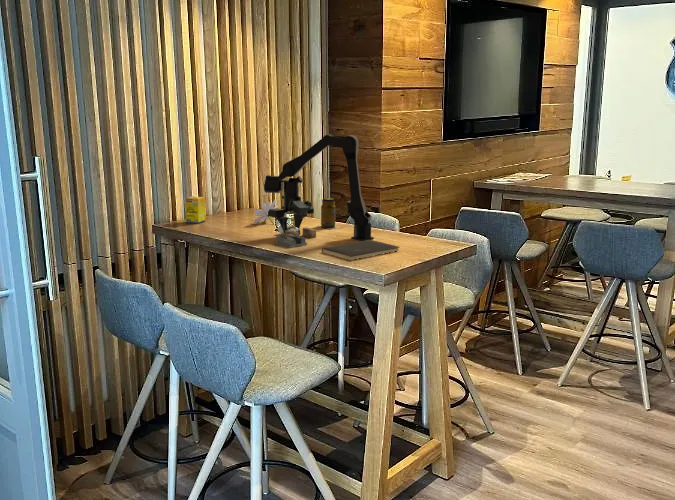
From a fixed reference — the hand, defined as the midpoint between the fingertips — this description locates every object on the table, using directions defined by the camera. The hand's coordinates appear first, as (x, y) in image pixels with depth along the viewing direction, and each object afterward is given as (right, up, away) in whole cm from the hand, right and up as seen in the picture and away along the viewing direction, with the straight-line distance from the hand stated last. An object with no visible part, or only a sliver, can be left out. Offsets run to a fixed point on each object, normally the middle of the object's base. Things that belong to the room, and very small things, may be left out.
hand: (291, 232), depth 269 cm
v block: (+1, -5, -16) cm, 16 cm away
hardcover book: (+27, -8, -26) cm, 38 cm away
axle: (0, -1, +1) cm, 1 cm away
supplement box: (-43, +5, +25) cm, 50 cm away
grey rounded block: (+4, -2, -4) cm, 6 cm away
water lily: (-13, +5, +25) cm, 29 cm away
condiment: (+15, +3, +18) cm, 23 cm away
